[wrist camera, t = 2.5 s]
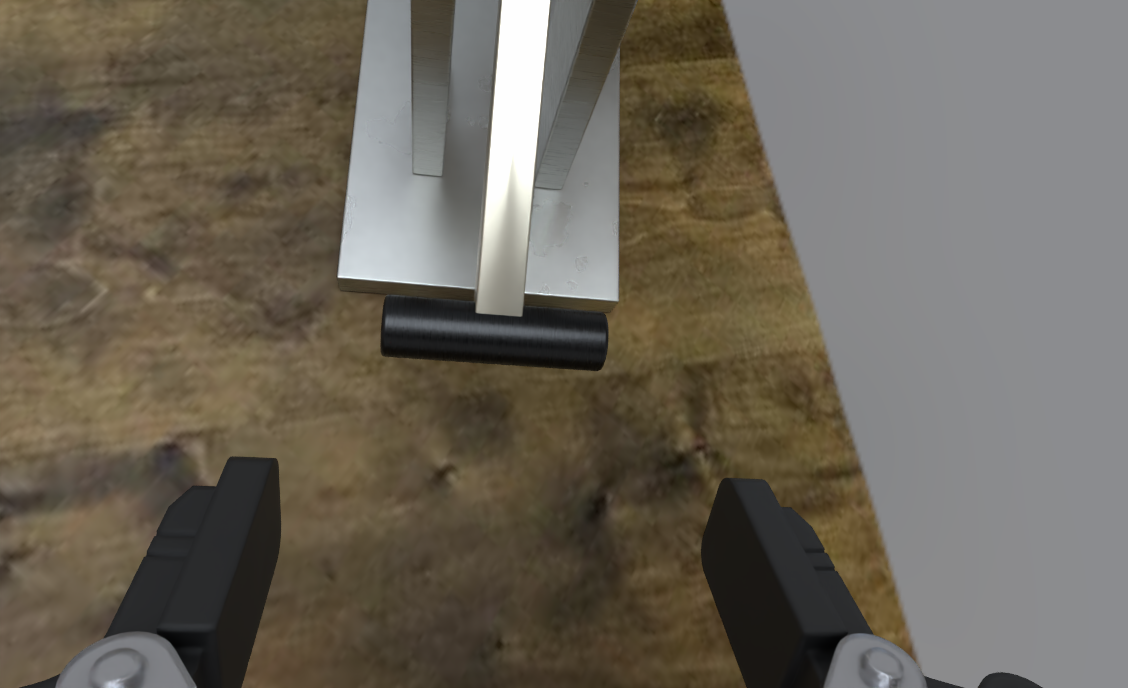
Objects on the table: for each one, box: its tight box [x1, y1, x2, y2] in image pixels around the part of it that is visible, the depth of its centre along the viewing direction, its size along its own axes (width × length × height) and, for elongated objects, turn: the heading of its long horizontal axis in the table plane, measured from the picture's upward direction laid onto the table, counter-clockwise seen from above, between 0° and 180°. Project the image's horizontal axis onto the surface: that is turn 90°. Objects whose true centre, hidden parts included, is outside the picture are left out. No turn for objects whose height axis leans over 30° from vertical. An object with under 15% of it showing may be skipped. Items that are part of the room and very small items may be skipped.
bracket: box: [337, 0, 638, 312], centre depth 21 cm, size 12×9×13 cm
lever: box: [381, 0, 608, 371], centre depth 17 cm, size 12×5×2 cm, turn 179°
